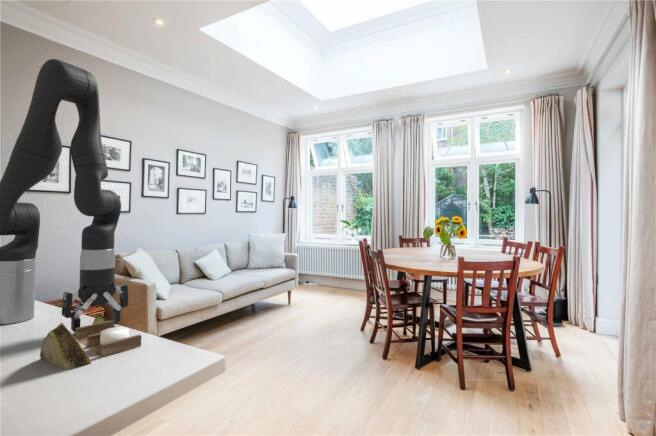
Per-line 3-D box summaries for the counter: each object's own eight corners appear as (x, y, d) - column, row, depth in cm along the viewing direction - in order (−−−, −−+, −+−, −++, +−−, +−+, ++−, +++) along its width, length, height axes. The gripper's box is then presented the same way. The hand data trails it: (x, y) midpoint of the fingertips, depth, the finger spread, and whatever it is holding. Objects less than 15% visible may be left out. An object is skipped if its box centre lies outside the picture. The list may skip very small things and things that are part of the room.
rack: (75, 342, 81) (75, 328, 81) (111, 333, 87) (112, 320, 87) (102, 361, 71) (102, 345, 71) (140, 350, 78) (141, 335, 78)
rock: (22, 354, 69) (21, 365, 61) (55, 315, 73) (58, 322, 65) (74, 374, 74) (79, 387, 66) (103, 338, 78) (110, 346, 70)
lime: (91, 338, 84) (92, 318, 84) (81, 334, 86) (82, 314, 86) (110, 332, 88) (110, 314, 88) (100, 329, 90) (101, 310, 90)
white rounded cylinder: (95, 346, 76) (95, 331, 76) (121, 339, 81) (121, 325, 81) (106, 353, 73) (107, 337, 73) (132, 345, 78) (133, 330, 78)
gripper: (121, 261, 95) (120, 318, 95) (59, 267, 83) (57, 332, 83) (133, 264, 90) (132, 324, 90) (69, 271, 79) (68, 339, 79)
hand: (96, 328), depth 87 cm, fingers open, 8 cm apart
